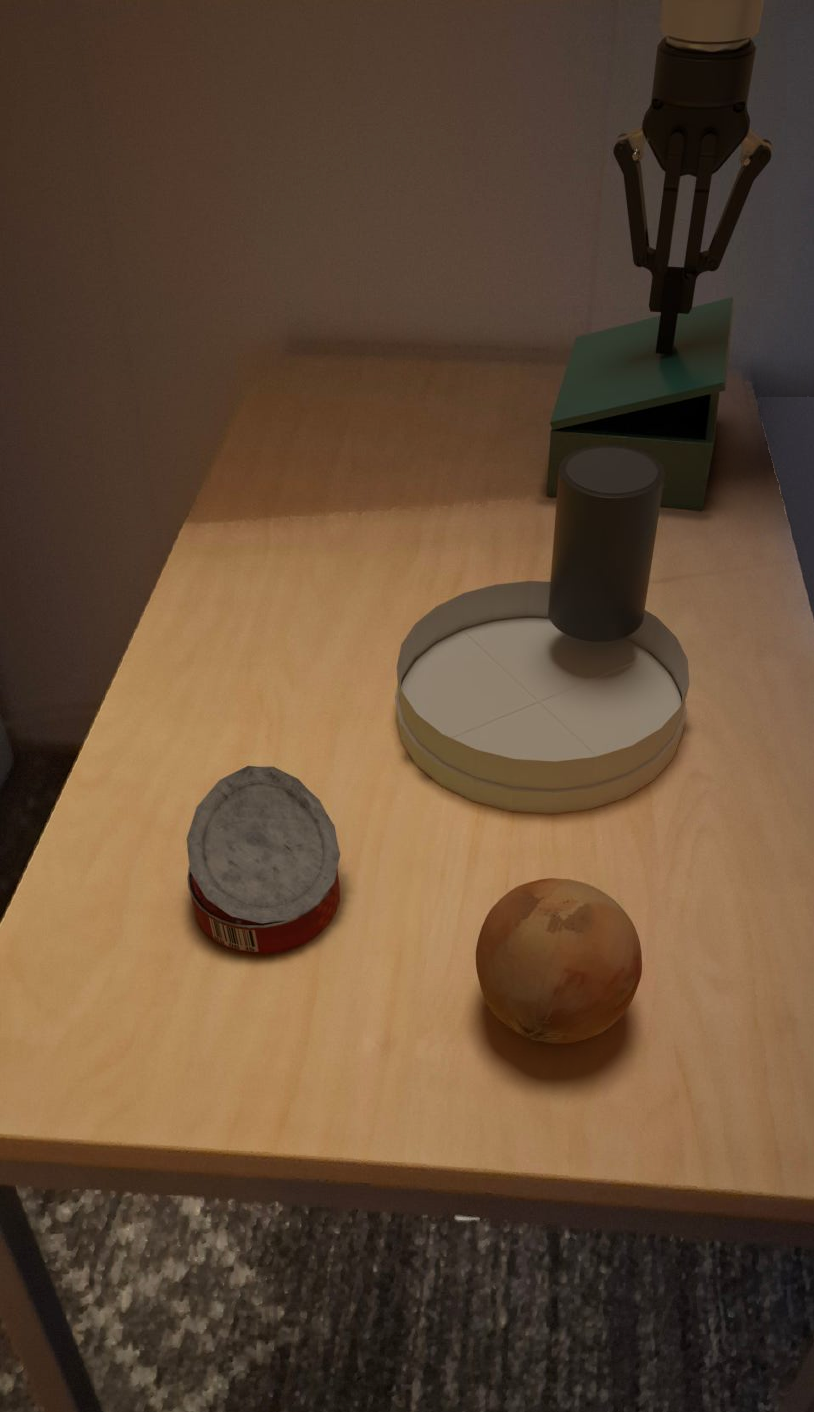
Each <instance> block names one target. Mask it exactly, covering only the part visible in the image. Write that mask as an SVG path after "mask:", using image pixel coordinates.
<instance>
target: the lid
mask: <svg viewBox="0 0 814 1412" xmlns="http://www.w3.org/2000/svg"><path fill="white" fill-rule="evenodd" d="M734 308H735V303H734V297H733V296H731V297H730V296H729V297H727V298H723V299H719V300H716V301H711V302H708V303H703V304H699V305H696V306H692V309H691V311H690V312H689V314H681V313H678V317H677V324H676V331H675V338H674V344H673V350H672V354H659V353H655V352H656V345H657V337H658V330H659V323H660V315H657V316H653V317H649V318H645V319H641V320H637V321H634V322H630V323H626V324H622V325H618V326H615V327H610V328H607V329H603V330H598V331H595V332H592V333H588V334H583V335H580V336H575V339H574V342H573V345H572V349H571V351H570V355H569V359H568V363H567V366H566V369H565V372H564V375H563V378H562V382H561V385H560V389H559V392H558V395H557V397H556V401H555V405H554V408H553V411H552V413H551V418H550V422H549V423H550V424H549V425H550V427H551V429H552V430H555V429H559V428H564V427H568V426H572V425H577V424H581V423H586V422H590V421H594V420H599V419H603V418H608V417H612V416H616V415H621V414H625V413H629V412H634V411H638V410H643V409H647V408H651V407H656V406H660V405H665V404H669V403H673V402H678V401H682V400H686V399H691V398H695V397H700V396H704V395H708V394H713V393H717V392H720V393H721V392H725V391H726V387H727V378H728V368H729V359H730V347H731V340H732V339H731V337H732V329H733V318H734Z"/></svg>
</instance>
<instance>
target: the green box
mask: <svg viewBox="0 0 814 1412" xmlns="http://www.w3.org/2000/svg"><path fill="white" fill-rule="evenodd" d="M720 393H721V392H717V393H713V394H708V395H704V396H700V397H695V398H691V399H686V400H682V401H678V402H673V403H669V404H665V405H660V406H656V407H651V408H647V409H643V410H638V411H634V412H629V413H625V414H621V415H616V416H612V417H608V418H603V419H599V420H594V421H590V422H586V423H581V424H577V425H572V426H568V427H564V428H559V429H555V430H552V428H551V429H550V435H549V436H550V437H549V451H548V467H547V479H546V481H547V483H546V494H545V496H546V497H547V498H554V499H555V498H556V499H557V488H558V475H559V466H560V464H561V462H562V461H563V459H564V458H565V457H567V456H568V455H569V454H571V453H573V452H575V451H577V450H580V449H583V448H587V447H592V446H600V445H617V446H625V447H630V448H635V449H638V450H641V451H643V452H646V453H648V454H650V455H651V456H653V457H655V458H656V459H657V460H658V461H659V462H660V463H661V464H662V466H663V468H664V471H665V477H664V484H663V491H662V497H661V504H660V508H664V509H673V510H674V509H675V510H685V511H694V512H695V511H697V512H703V508H704V503H705V497H706V492H707V485H708V481H709V475H710V468H711V464H712V458H713V454H714V453H713V452H714V447H715V439H716V430H717V419H718V411H719V402H720Z"/></svg>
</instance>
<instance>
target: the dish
mask: <svg viewBox="0 0 814 1412" xmlns="http://www.w3.org/2000/svg"><path fill="white" fill-rule="evenodd" d="M549 594H550V581H540V580H525V581H516V582H515V581H514V582H506V583H505V582H504V583H497V584H492V585H489V586H484V587H481V588H478V589H473V590H470V591H466V592H463V593H461V594H459V595H456V596H455V597H453V598H451V599H449V600H447V601H445V602H442V603H440V604H438V605H437V606H435V607H434V608H432V610H430V611H429V612H427V613H426V614H425V615H424V616H423V617H422V618H421V619H419V620H418V621H416V623H414V625H413V626H412V627H411V629H410V631H409V632H408V633H407V635H406V637H405V638H404V639H403V641H402V643H401V644H400V647H399V648H400V650H399V653H398V659H397V663H396V678H397V685H396V690H395V694H394V699H395V700H394V701H395V709H396V710H395V714H396V715H395V716H396V722H397V726H398V732H399V737H400V741H401V743H402V744H403V746H404V748H405V750H406V752H408V754H409V755H410V757H411V759H412V761H413V762H414V764H415V766H417V767H418V768H419V769H420V770H422V771H423V772H424V773H425V774H426V775H428V776H429V777H430V778H431V779H433V781H435V782H436V783H437V784H438V785H440V786H441V787H444V788H445V789H447V790H449V791H451V792H453V793H456V794H458V795H460V796H461V797H463V798H466V799H468V800H470V801H472V802H475V803H478V804H483V805H486V806H489V807H494V808H498V809H502V810H505V811H509V812H517V813H518V812H519V813H534V814H548V815H552V814H561V813H569V812H577V811H585V810H592V809H596V808H598V807H601V806H604V805H608V804H611V803H613V802H616V801H619V800H622V799H625V798H627V797H629V796H631V795H633V794H634V793H636V792H637V791H639V790H641V789H642V788H643V787H645V786H647V785H649V784H650V783H652V782H653V781H655V780H656V778H657V777H658V776H659V775H660V774H661V773H662V772H663V770H664V769H665V768H666V767H667V766H668V765H669V763H671V762H672V760H673V759H674V756H675V754H676V752H677V749H678V746H679V744H680V741H681V738H682V736H683V730H684V727H685V726H684V725H685V721H686V716H687V697H688V691H689V687H690V674H689V659H688V657H687V655H686V654H685V651H684V649H683V647H682V645H681V643H680V641H679V639H678V637H677V636H676V635H675V633H673V631H671V630H670V628H668V626H666V625H665V624H664V622H663V621H661V619H659V617H658V616H656V615H654V614H652V613H651V612H649V611H647V610H646V609H645V612H644V618H643V622H642V624H641V625H640V627H639V628H638V629H637V630H636V631H635V632H634V633H632V634H631V635H629V636H627V637H624V638H622V639H618V640H614V641H607V642H591V641H584V640H579V639H576V638H573V637H570V636H568V635H566V634H564V633H562V632H561V631H559V630H558V629H557V628H556V627H555V626H554V625H553V624H552V622H551V621H550V618H549V615H548V607H549Z"/></svg>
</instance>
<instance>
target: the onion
mask: <svg viewBox="0 0 814 1412" xmlns="http://www.w3.org/2000/svg"><path fill="white" fill-rule="evenodd" d="M475 947H476V948H475V968H476V974H477V978H478V982H479V986H480V990H481V994H482V997H483V999H484V1001H485V1003H486V1005H487V1006H488V1008H489V1009H490V1011H491V1012H492V1013H493V1015H494V1016H495V1017H496V1018H497V1019H498V1020H499V1021H500V1022H502V1023H503V1024H504V1025H506V1026H507V1027H508V1028H510V1029H511V1030H513V1031H514V1032H516V1033H518V1034H520V1035H521V1036H523V1037H525V1038H526V1039H529V1040H531V1041H536V1042H539V1041H540V1042H544V1043H547V1044H569V1043H576V1042H577V1043H578V1042H581V1041H584V1040H587V1039H590V1038H592V1037H596V1036H598V1035H600V1034H601V1033H603V1032H605V1031H606V1030H607V1029H609V1028H610V1027H612V1026H613V1025H614V1024H615V1023H616V1022H617V1021H618V1020H619V1019H621V1017H622V1016H623V1015H624V1014H625V1013H626V1011H627V1010H628V1008H629V1006H630V1005H631V1003H632V1001H633V999H634V997H635V995H636V992H637V990H638V987H639V985H640V981H641V980H642V979H641V978H642V973H643V958H642V957H643V956H642V954H643V953H642V947H641V940H640V937H639V934H638V932H637V929H636V927H635V925H634V923H633V920H632V919H631V918H630V916H629V915H628V913H627V912H626V911H625V909H623V907H622V906H621V905H620V904H619V903H618V902H617V901H616V900H615V899H614V898H613V897H612V896H610V895H608V894H607V893H605V892H604V891H602V890H601V889H599V888H597V887H595V886H593V885H591V884H589V883H585V882H583V881H578V880H574V879H569V878H557V877H556V878H554V877H550V878H542V879H541V878H540V879H537V880H532V881H528V882H526V883H523V884H520V885H518V886H515V887H514V888H513V889H511V890H509V891H508V892H507V893H506V894H504V895H503V896H502V897H500V898H499V900H498V901H497V902H496V903H495V904H494V905H493V906H492V907H491V909H490V910H489V911H488V913H487V915H486V917H485V918H484V921H483V923H482V926H481V928H480V931H479V933H478V939H477V942H476V946H475Z"/></svg>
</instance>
